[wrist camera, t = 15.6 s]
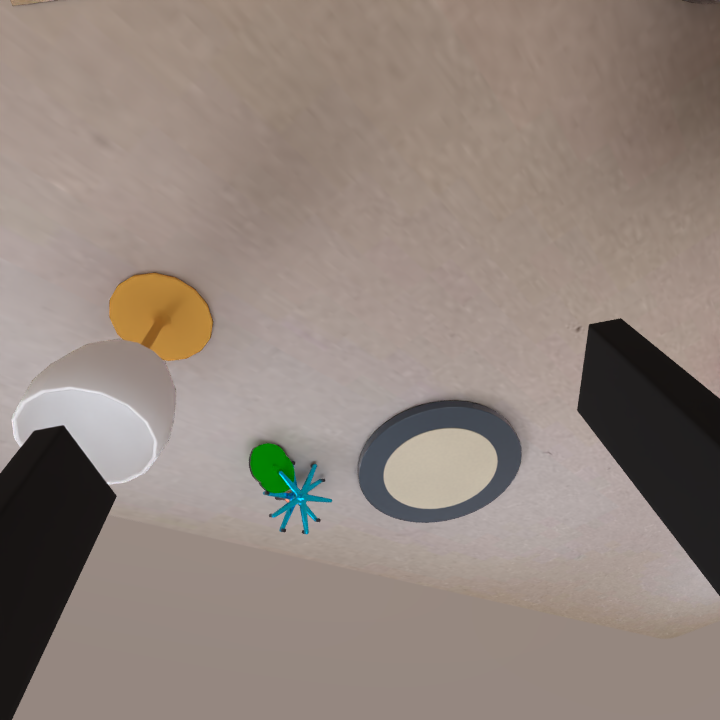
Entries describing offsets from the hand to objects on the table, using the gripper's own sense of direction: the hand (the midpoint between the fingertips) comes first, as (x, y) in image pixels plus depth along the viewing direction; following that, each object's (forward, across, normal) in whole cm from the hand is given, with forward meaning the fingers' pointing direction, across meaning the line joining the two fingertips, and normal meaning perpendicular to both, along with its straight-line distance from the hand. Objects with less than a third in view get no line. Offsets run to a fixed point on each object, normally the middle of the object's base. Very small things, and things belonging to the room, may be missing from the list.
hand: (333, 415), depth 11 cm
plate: (+29, +7, -35) cm, 46 cm away
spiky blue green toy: (+29, -12, -32) cm, 44 cm away
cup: (+29, -17, -9) cm, 35 cm away
